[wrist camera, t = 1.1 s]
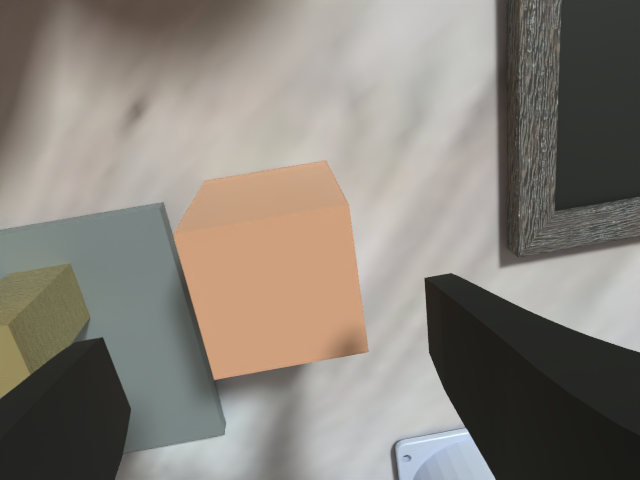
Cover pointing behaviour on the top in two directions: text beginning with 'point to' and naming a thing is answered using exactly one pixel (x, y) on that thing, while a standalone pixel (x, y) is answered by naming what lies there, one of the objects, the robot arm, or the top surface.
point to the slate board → (133, 315)
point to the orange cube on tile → (272, 270)
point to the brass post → (37, 320)
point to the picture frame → (572, 123)
